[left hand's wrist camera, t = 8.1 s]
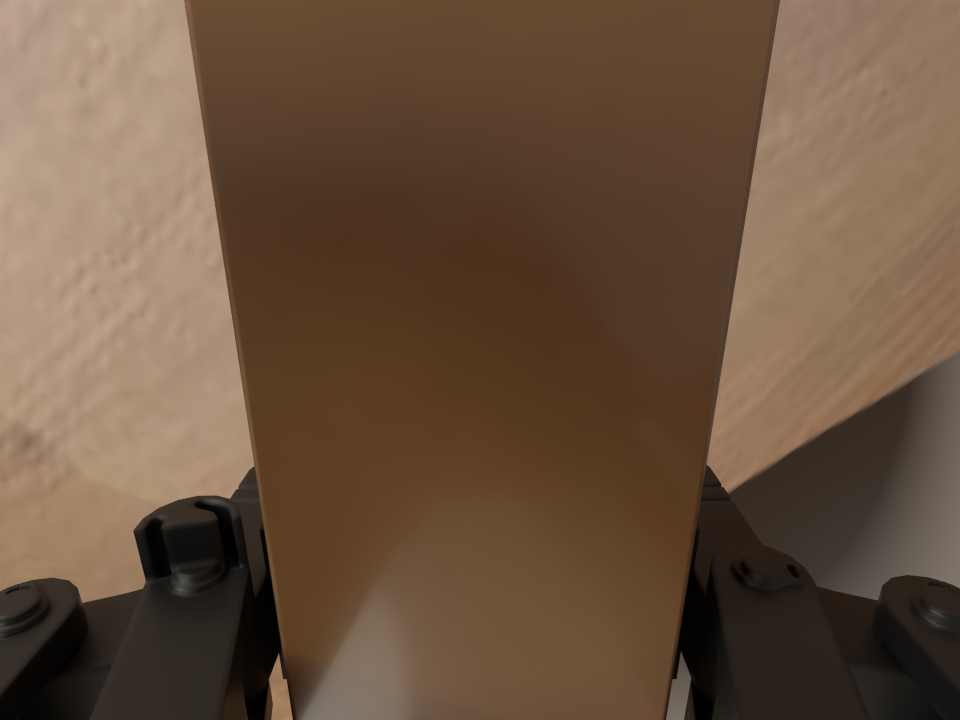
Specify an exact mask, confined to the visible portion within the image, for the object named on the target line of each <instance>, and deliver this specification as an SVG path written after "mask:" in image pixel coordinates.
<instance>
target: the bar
mask: <svg viewBox="0 0 960 720" xmlns="http://www.w3.org/2000/svg"><path fill="white" fill-rule="evenodd" d="M184 2H185V8H186V15H187V21H188V28H189V35H190V41H191V48H192V55H193V61H194V68H195V74H196V81H197V88H198V94H199V101H200V107H201V114H202V121H203V127H204V134H205V141H206V147H207V154H208V160H209V167H210V174H211V180H212V187H213V194H214V200H215V207H216V213H217V220H218V227H219V233H220V240H221V247H222V253H223V260H224V266H225V273H226V280H227V286H228V293H229V300H230V306H231V313H232V319H233V326H234V333H235V339H236V346H237V352H238V359H239V366H240V372H241V379H242V386H243V392H244V399H245V405H246V412H247V419H248V425H249V432H250V439H251V445H252V452H253V458H254V465H255V472H256V478H257V485H258V492H259V498H260V505H261V511H262V518H263V525H264V531H265V538H266V545H267V551H268V558H269V564H270V571H271V578H272V584H273V591H274V597H275V604H276V611H277V617H278V624H279V631H280V637H281V644H282V650H283V657H284V664H285V670H286V677H287V684H288V690H289V697H290V703H291V710H292V717H293V720H666V716H667V710H668V703H669V697H670V691H671V684H672V678H673V672H674V665H675V659H676V653H677V646H678V640H679V634H680V628H681V621H682V615H683V609H684V602H685V596H686V590H687V583H688V577H689V571H690V564H691V558H692V552H693V545H694V539H695V533H696V526H697V520H698V514H699V508H700V501H701V495H702V489H703V482H704V476H705V470H706V463H707V457H708V451H709V444H710V438H711V432H712V425H713V419H714V413H715V406H716V400H717V394H718V388H719V381H720V375H721V369H722V362H723V356H724V350H725V343H726V337H727V331H728V324H729V318H730V312H731V305H732V299H733V293H734V286H735V280H736V274H737V268H738V261H739V255H740V249H741V242H742V236H743V230H744V223H745V217H746V211H747V204H748V198H749V192H750V185H751V179H752V173H753V166H754V160H755V154H756V148H757V141H758V135H759V129H760V122H761V116H762V110H763V103H764V97H765V91H766V84H767V78H768V72H769V65H770V59H771V53H772V47H773V40H774V34H775V28H776V21H777V15H778V9H779V2H780V0H184Z"/></svg>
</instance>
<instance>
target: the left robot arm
mask: <svg viewBox="0 0 960 720" xmlns="http://www.w3.org/2000/svg"><path fill="white" fill-rule="evenodd" d="M134 535H135V539H136V543H137V547H138V551H139V555H140V559H141V563H142V567H143V571H144V575H145V579H146V583H145V585H144V588H143V589H140V590H137V591H133V592H130V593H126V594H122V595H117V596H113V597H108V598H103V599H99V600H94V601H90V602H85V603H82V601H81V598H80V594H79V591H78V588H77V587H76V586H75V585H73V584H72V583H71V582H70V581H68V580H63V579H57V578H47V579H38V580H31V581H28V582H24V583H21V584H17V585H14V586H11V587H9V588H6V589H5V590H3V591H1V592H0V720H271V716H272V706H273V702H272V696H271V689H270V683H269V678H270V675H271V672H272V670H273V667H274V664H275V662H276V659H277V657H278V654H279V656H280V662H281V668H282V675H283V679H287V677H286V670H285V664H284V657H283V650H282V644H281V637H280V631H279V624H278V617H277V611H276V604H275V597H274V591H273V584H272V578H271V571H270V564H269V558H268V551H267V545H266V538H265V531H264V525H263V518H262V511H261V505H260V498H259V492H258V485H257V478H256V472H255V466H254V467H253V468H251V469H250V470H249V471H248V473H247V474H246V476H245V477H244V479H243V480H242V482H241V483H240V485H239V489H236V491H235V492H234V494H233V495H232V497H231V498H230V499H228V498H224V497H220V496H195V497H191V498H186V499H181V500H177V501H175V502H173V503H170V504H168V505H165V506H163V507H160V508H158V509H157V510H155V511H154V512H152V513H151V514H149V515H148V516H146V517H145V518H143V519H142V521H141V522H140V523H139V524H138V526H137V527H136V528H135V529H134ZM681 652H682V655H683V657H684V660H685V662H686V665H687V668H688V670H689V673H690V675H691V683H690V689H689V695H688V701H687V707H686V712H685V718H684V720H960V589H959V588H957V587H955V586H954V585H951V584H948V583H945V582H943V581H942V582H941V581H939V580H935V579H932V578H928V577H919V576H911V575H906V576H900V577H894V578H891V579H890V580H889V581H887V582H886V583H885V584H884V585H883V586H882V589H881V593H880V596H879V599H878V601H877V600H873V599H868V598H864V597H859V596H854V595H850V594H845V593H841V592H836V591H832V590H828V589H825V588H821V587H818V586H816V584H815V582H814V580H813V579H812V577H811V576H810V574H809V573H808V571H807V570H806V569H805V567H803V566H802V565H801V564H799V563H798V562H797V561H796V560H794V559H793V558H792V557H790V556H788V555H786V554H784V553H782V552H780V551H778V550H776V549H773V548H771V547H767V546H763V545H762V544H761V542H760V541H759V539H758V538H757V536H756V535H755V533H754V532H753V530H752V529H751V527H750V526H749V524H748V523H747V521H746V520H745V518H744V517H743V516H742V514H741V513H740V511H739V510H738V508H737V507H736V505H735V504H734V502H733V501H731V500H730V496H729V495H728V493H727V492H726V490H725V489H724V487H721V483H720V481H719V480H718V479H717V477H716V476H715V474H714V473H713V471H712V470H711V468H710V467H709V466H707V465H706V470H705V476H704V482H703V489H702V495H701V501H700V508H699V514H698V520H697V526H696V533H695V539H694V545H693V552H692V558H691V564H690V571H689V577H688V583H687V590H686V596H685V602H684V609H683V615H682V621H681V628H680V634H679V640H678V646H677V653H676V659H675V665H674V672H673V678H672V679H676V678H677V672H678V666H679V659H680V653H681Z"/></svg>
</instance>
